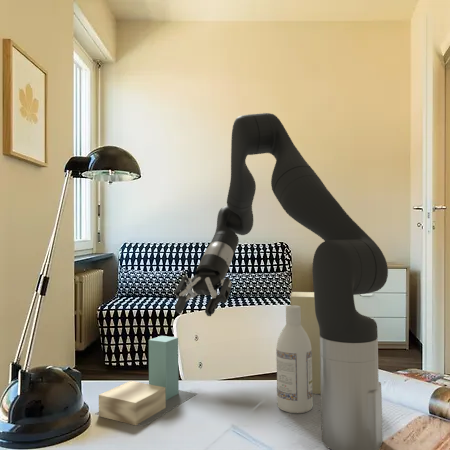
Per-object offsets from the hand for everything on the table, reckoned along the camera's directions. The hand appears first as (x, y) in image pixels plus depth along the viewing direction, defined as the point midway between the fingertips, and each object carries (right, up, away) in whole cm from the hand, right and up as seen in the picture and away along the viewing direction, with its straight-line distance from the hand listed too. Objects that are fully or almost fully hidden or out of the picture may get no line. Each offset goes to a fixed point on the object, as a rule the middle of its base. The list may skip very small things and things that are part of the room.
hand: (192, 312), depth 102 cm
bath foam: (+22, -15, -17) cm, 32 cm away
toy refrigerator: (+27, -16, -6) cm, 32 cm away
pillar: (-5, -15, -11) cm, 20 cm away
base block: (-10, -15, -19) cm, 27 cm away
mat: (-8, -16, -15) cm, 23 cm away
